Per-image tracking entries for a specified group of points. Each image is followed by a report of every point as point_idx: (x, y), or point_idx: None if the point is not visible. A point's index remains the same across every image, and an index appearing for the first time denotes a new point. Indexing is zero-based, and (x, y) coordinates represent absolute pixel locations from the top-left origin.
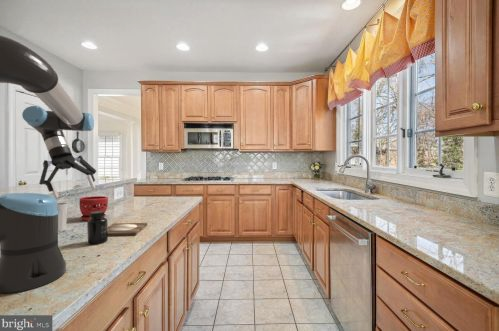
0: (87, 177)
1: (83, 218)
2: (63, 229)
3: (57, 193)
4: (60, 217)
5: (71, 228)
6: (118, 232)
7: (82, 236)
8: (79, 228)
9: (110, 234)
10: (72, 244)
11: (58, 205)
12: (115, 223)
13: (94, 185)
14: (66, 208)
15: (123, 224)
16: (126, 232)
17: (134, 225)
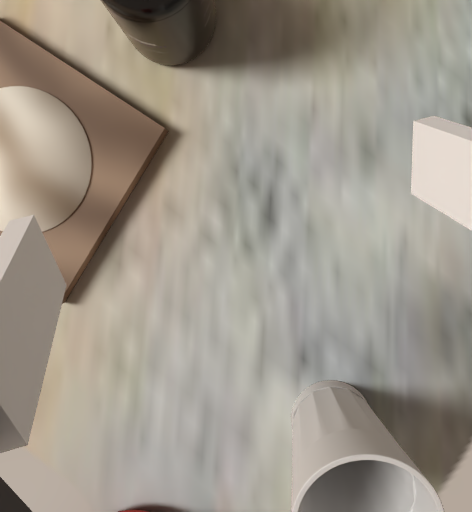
0: (22, 419)
1: None
2: (304, 391)
3: (439, 129)
4: (329, 415)
5: (266, 398)
6: (61, 70)
7: (228, 181)
8: (229, 370)
9: (103, 88)
10: (279, 57)
11: (360, 454)
12: None
13: (7, 232)
14: (299, 468)
15: None
16: (25, 42)
17: None
